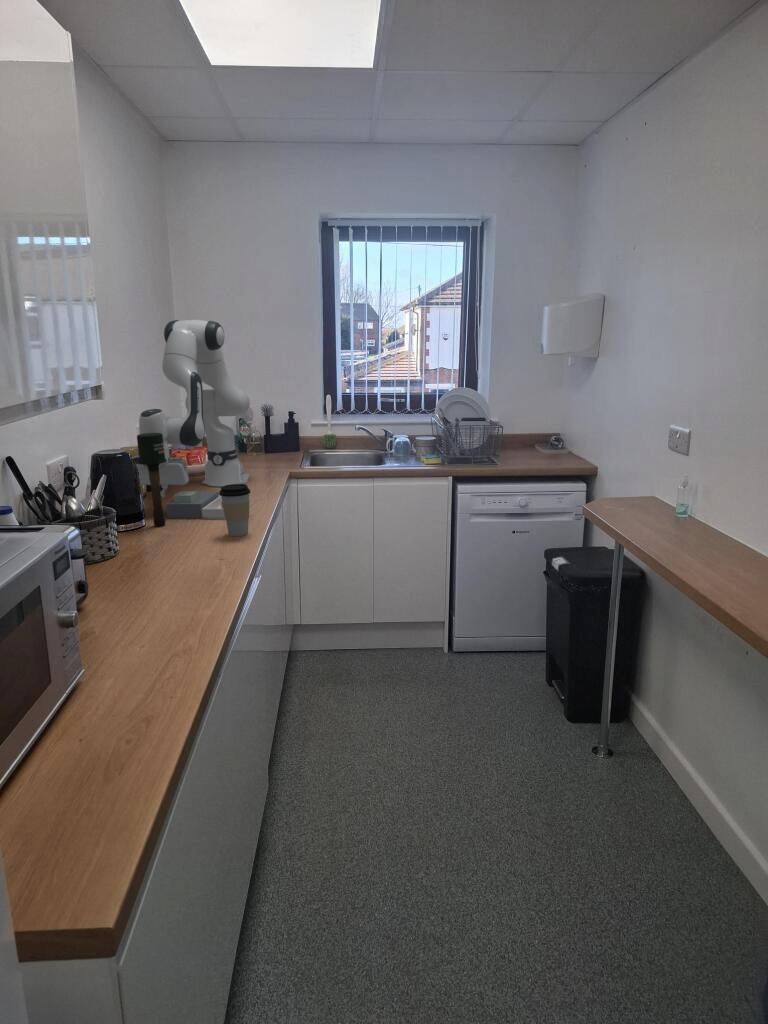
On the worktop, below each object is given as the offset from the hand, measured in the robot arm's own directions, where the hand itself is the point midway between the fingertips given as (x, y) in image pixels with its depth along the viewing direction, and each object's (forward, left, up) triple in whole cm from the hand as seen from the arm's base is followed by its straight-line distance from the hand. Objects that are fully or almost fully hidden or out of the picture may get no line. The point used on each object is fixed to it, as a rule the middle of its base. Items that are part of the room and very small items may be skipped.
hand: (160, 497), depth 231 cm
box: (-4, +21, -6) cm, 23 cm away
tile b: (0, +9, -1) cm, 9 cm away
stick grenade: (+14, +5, -6) cm, 16 cm away
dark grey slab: (-4, +10, -6) cm, 12 cm away
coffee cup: (+23, +34, -6) cm, 41 cm away
